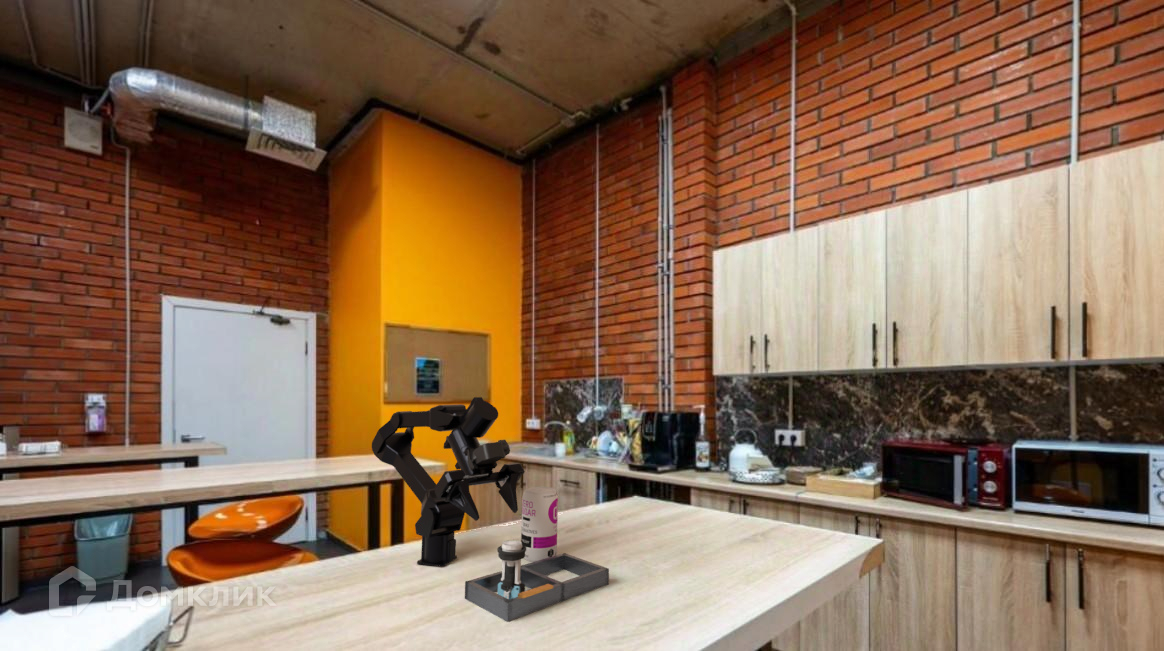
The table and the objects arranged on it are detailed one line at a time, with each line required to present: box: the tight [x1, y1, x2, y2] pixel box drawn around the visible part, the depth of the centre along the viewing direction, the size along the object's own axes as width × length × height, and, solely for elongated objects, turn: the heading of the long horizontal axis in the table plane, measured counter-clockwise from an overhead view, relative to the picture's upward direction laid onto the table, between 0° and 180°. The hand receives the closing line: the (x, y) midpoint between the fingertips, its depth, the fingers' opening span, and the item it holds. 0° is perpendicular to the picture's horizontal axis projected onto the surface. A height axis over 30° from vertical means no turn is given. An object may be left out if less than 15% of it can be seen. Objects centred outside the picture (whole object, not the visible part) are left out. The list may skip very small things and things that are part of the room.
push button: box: [496, 539, 526, 599], centre depth 102 cm, size 7×5×10 cm
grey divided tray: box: [464, 552, 610, 622], centre depth 105 cm, size 13×25×3 cm, turn 135°
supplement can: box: [520, 486, 559, 562], centre depth 126 cm, size 8×8×15 cm
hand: (497, 515), depth 108 cm, fingers open, 9 cm apart
